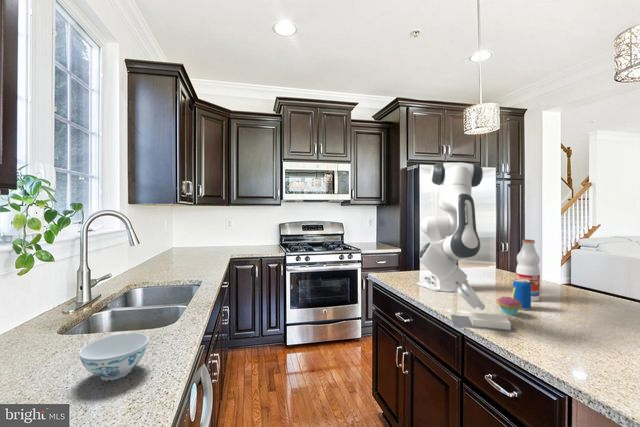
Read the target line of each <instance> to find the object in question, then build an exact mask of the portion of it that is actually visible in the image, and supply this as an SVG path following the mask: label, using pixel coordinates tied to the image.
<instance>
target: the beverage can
mask: <svg viewBox="0 0 640 427" xmlns="http://www.w3.org/2000/svg"><path fill="white" fill-rule="evenodd" d="M515 286H516V287H515ZM514 288H516V289H515V294H514V298H515V299H517V300H519V301H520V302H521V303H522V307H521V308H520V309H519V310H522V311H528V310H529V309H531V307H532V301H531V283H530V281H529V280H525V279H516V278H515V279H514V280H513V282H512V290H513V289H514Z"/></svg>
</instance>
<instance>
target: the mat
mask: <svg viewBox="0 0 640 427" xmlns="http://www.w3.org/2000/svg"><path fill="white" fill-rule="evenodd" d="M450 318H451V321H452V323H453V327H458V328H468V329H475V330H476V329H477V330H487V331H494V332H495V331H497V332H505V333H514V334H518V331H517V330H516V329H515V328H514V326H513V325H512V324H511V330H507V329H497V328H488V327H478V326H473V325H472V323H471V321H470V319H469V315H468V316H467V315H456V314H450Z"/></svg>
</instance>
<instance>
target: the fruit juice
mask: <svg viewBox="0 0 640 427" xmlns="http://www.w3.org/2000/svg"><path fill="white" fill-rule="evenodd" d="M521 242H522V246H521V248H520V251H519V252H518V253H517V255H516V262H517V265H516V269H515V279H525V280H529V281H530V283H531V302H538V301H540V290H541V289H540V287H541V270H540V267H539V266H540V262H541V259H540V258H541V257H540V255H539V254H538V253H537V251H536V248H535V244H536V240H535V239H527V238H526V239H525V238H524V239H522V241H521Z"/></svg>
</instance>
